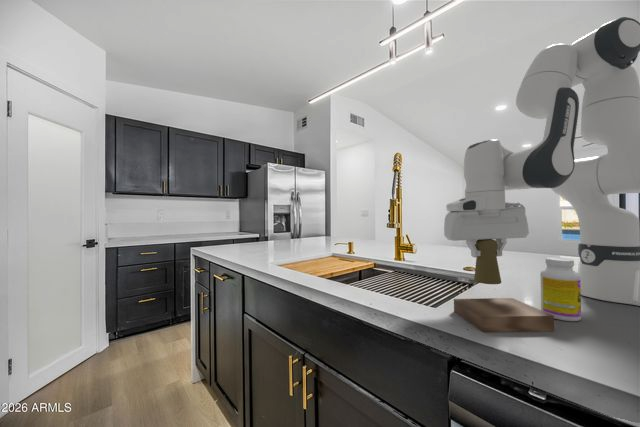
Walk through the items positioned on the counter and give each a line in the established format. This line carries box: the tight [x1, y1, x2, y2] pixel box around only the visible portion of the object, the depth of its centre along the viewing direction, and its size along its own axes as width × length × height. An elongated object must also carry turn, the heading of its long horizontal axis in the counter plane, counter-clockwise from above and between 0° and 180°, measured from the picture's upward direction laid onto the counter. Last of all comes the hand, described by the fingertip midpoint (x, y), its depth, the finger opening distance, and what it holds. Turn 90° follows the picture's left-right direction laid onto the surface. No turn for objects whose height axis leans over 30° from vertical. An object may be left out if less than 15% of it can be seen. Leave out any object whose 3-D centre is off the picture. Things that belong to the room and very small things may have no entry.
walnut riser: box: [453, 297, 555, 333], centre depth 57 cm, size 14×11×3 cm
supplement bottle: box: [540, 257, 582, 322], centre depth 59 cm, size 7×7×13 cm
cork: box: [473, 239, 502, 285], centre depth 68 cm, size 6×6×11 cm
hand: (486, 256), depth 68 cm, fingers closed on cork, 4 cm apart
